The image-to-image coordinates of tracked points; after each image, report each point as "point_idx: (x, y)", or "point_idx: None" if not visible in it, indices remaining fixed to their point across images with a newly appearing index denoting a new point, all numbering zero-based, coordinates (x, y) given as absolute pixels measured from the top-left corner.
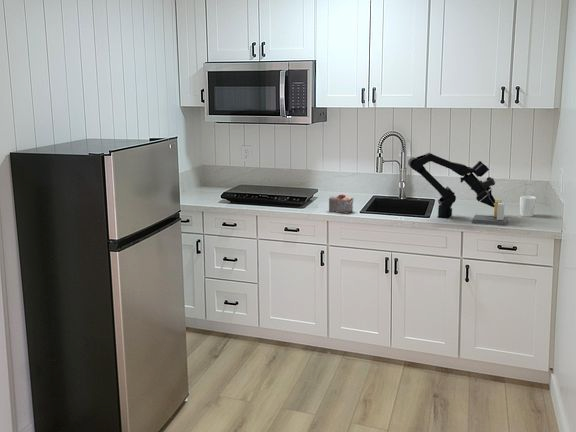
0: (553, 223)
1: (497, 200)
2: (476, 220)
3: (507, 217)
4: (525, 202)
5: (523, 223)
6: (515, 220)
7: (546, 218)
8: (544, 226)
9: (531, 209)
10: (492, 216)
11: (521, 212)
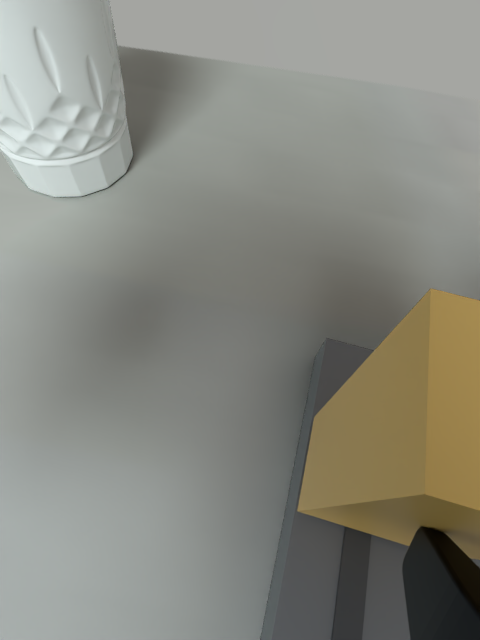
0: (345, 88)
1: (471, 425)
2: None
3: (346, 344)
4: (84, 22)
5: (401, 245)
6: (287, 279)
7: (192, 83)
8: (458, 146)
9: (120, 76)
10: (356, 563)
11: (78, 167)
